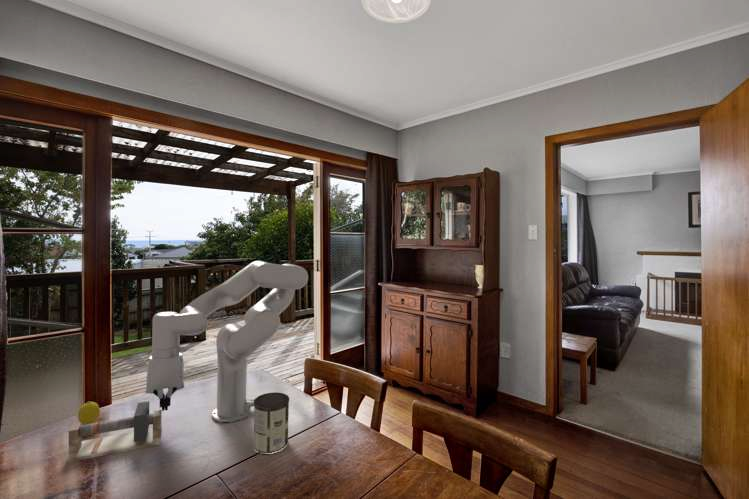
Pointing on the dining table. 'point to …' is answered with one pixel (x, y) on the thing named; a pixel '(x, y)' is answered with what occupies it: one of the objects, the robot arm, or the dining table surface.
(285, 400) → the coffee can
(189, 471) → the dining table surface
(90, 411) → the lemon
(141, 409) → the grey frame
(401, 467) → the dining table surface
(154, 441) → the pipe stand
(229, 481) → the dining table surface
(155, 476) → the dining table surface
